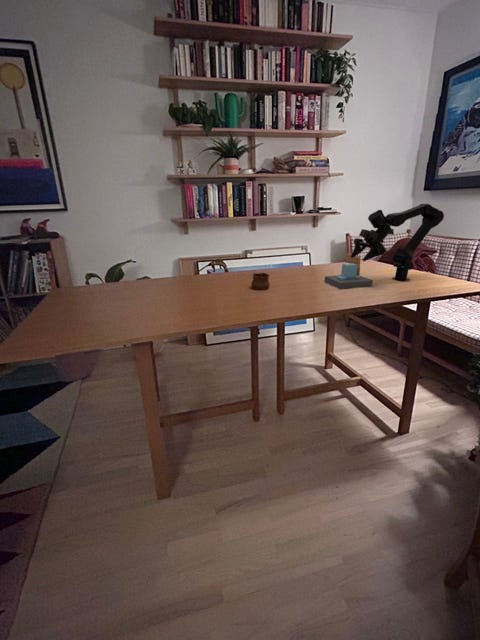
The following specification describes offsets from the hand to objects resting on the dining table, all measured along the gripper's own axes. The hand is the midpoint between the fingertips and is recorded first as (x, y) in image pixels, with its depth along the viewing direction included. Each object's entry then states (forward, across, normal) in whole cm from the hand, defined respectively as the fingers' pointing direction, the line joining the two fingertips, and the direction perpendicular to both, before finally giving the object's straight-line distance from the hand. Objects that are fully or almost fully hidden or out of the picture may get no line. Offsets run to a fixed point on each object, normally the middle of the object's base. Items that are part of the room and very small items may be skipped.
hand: (357, 258), depth 156 cm
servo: (+11, 0, +6) cm, 13 cm away
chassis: (+11, 0, +6) cm, 13 cm away
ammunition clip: (+2, -17, +16) cm, 24 cm away
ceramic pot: (+43, -6, -25) cm, 50 cm away
